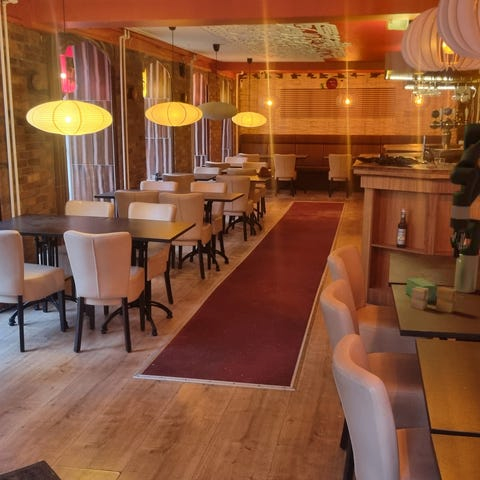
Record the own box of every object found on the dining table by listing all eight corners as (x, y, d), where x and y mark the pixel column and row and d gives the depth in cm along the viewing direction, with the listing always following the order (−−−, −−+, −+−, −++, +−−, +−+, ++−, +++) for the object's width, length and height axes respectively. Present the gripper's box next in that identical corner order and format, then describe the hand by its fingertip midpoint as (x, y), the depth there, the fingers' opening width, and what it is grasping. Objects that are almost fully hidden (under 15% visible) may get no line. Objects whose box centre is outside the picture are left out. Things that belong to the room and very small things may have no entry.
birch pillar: (415, 304, 257) (417, 286, 256) (427, 307, 254) (428, 288, 253) (410, 307, 254) (412, 289, 252) (422, 310, 250) (423, 291, 249)
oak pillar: (440, 307, 254) (441, 287, 252) (454, 310, 250) (456, 289, 248) (435, 310, 250) (437, 289, 248) (450, 313, 247) (452, 292, 245)
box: (421, 303, 260) (422, 286, 258) (405, 294, 273) (406, 277, 271) (436, 302, 262) (437, 285, 260) (419, 293, 274) (421, 277, 273)
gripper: (456, 213, 256) (453, 253, 259) (445, 217, 246) (441, 259, 249) (474, 215, 251) (470, 256, 255) (463, 219, 241) (459, 262, 245)
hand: (456, 257), depth 252 cm, fingers closed
